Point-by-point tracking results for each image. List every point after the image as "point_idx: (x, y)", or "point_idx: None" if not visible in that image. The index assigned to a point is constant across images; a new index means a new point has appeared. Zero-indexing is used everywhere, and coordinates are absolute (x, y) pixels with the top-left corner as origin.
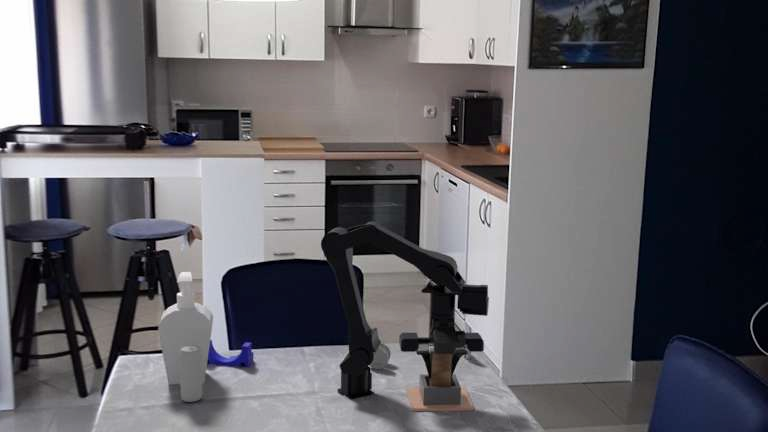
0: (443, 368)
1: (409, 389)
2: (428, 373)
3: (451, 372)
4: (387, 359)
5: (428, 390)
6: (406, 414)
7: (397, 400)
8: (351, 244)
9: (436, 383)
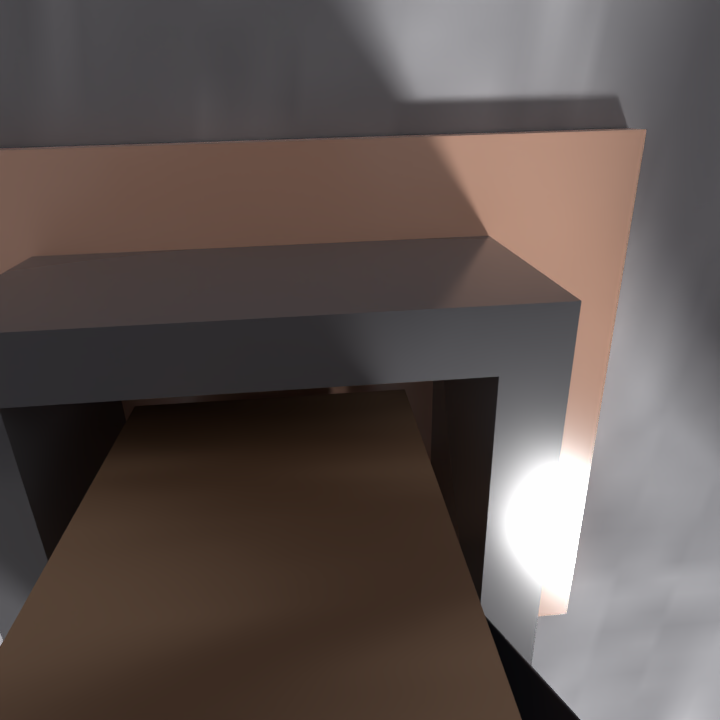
0: None
1: (549, 589)
2: (506, 648)
3: None
4: None
5: (487, 290)
6: (714, 20)
7: (692, 400)
8: None
9: (345, 464)
